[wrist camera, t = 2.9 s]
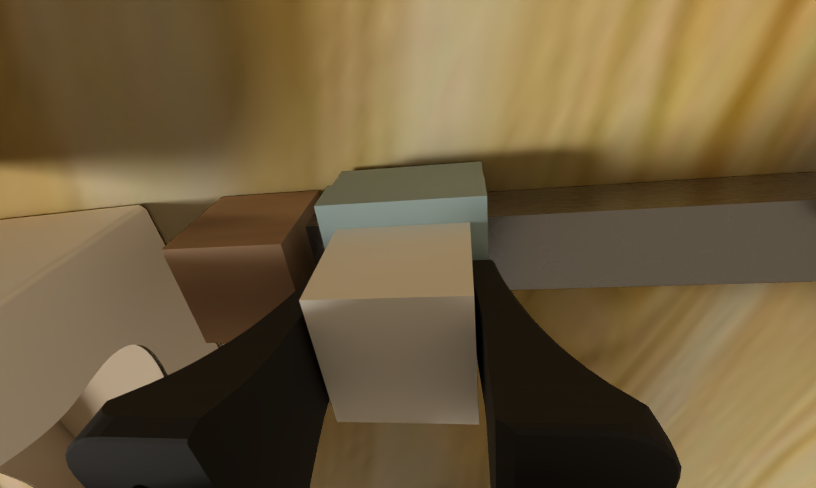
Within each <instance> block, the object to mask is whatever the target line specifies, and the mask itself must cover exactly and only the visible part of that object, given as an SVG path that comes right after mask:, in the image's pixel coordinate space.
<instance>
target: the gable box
mask: <svg viewBox="0 0 816 488" xmlns="http://www.w3.org/2000/svg"><path fill="white" fill-rule="evenodd" d="M163 247H165V244H164V242H163V240H162V238H161V237H160V235H159V233H158V231H157V229H156V227H155V225H154V223H153V221H152V219H151V217H150V216H149V214H148V212H147V210H146V208H144V207H142V206H140V205H133V206H124V207H114V208H105V209H96V210H87V211H77V212H68V213H59V214H50V215H40V216H31V217H22V218H13V219H3V220H0V473H1V474H4V475H7V476H9V477H12V478H15V479H17V480H20V481H22V482H24V483H26V484H28V485H30V486H32V487H33V488H85V487H84V486H83V485H82V484H81V483H80V482H79V480H78V479H77V478H76V477H75V476H74V475H73V473H72V472H71V470H70V469H69V468H68V464H67V461H66V456H65V454H66V450H67V447H68V446H69V445H70V444H71V442H72V441H73V440H74V439H75V438H76V437H77V435H78V434H79V433H80V432H81V431H82V429H83V428H84V427H85V426H86V425H87V424H88V422H89V421H90V420H91V419H92V418H93V417H94V415H95V414H96V413H97V412H98V411H99V410H100V408H101V407H102V406H103V405H104V404H105V402H106V401H107V400H110V399H113V398H115V397H118V396H120V395H123V394H125V393H128V392H130V391H133V390H135V389H138V388H140V387H142V386H145V385H147V384H150V383H152V382H154V381H156V380H159V379H161V378H163V377H165V376H167V375H169V374H171V373H174V372H176V371H178V370H180V369H182V368H184V367H186V366H188V365H190V364H192V363H193V362H195V361H197V360H199V359H201V358H202V357H204V356H206V355H208V354H209V353H211V352H213V351H214V350H216V349H218V346H217V344H216V343H206V341H205V339H204V337H203V335H202V333H201V331H200V329H199V327H198V325H197V323H196V321H195V319H194V317H193V315H192V313H191V311H190V309H189V307H188V304H187V302H186V300H185V298H184V296H183V294H182V292H181V290H180V288H179V286H178V284H177V282H176V280H175V278H174V276H173V274H172V272H171V270H170V268H169V266H168V263H167V261H166V259H165V257H164V255H163V253H162V251H161V249H162V248H163Z"/></svg>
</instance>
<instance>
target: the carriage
mask: <svg viewBox="0 0 816 488" xmlns="http://www.w3.org/2000/svg"><path fill="white" fill-rule="evenodd" d="M314 209H315V213H316V217H317V220H318V224H319V228H320V232H321V236H322V240H323V244H324V248H325V251H324V253H323V255H322V257H321V259H320V261H319V263H318V265H317V267H316V269H315V270H314V272H313V274H312V276H311V278H310V280H309V282H308V284H307V286H306V288H305V290H304V292H303V294H302V296H301V298H300V300H299V302H300V305H301V308H302V311H303V315H304V318H305V321H306V324H307V327H308V331H309V334H310V337H311V340H312V343H313V347H314V350H315V353H316V356H317V360H318V363H319V366H320V369H321V372H322V376H323V379H324V382H325V385H326V388H327V392H328V395H329V398H330V401H331V405H332V408H333V411H334V414H335V417H336V421H337V422H368V423H424V424H479V406H478V380H477V355H476V329H475V303H474V284H473V267H472V260H488V216H487V191H486V185H485V178H484V175H483V170H482V163H481V161H480V162H466V163H452V164H439V165H425V166H411V167H397V168H383V169H369V170H356V171H342V172H341V174H340V175H339V177H338V178H337V180H336V181H335V183H334V184H333V186H327V187H326V189H325V190H324V192H323V193H322V195H321V196H320V198H319V199H318V201H317V202H316V204H315V205H314Z"/></svg>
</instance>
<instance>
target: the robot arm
mask: <svg viewBox="0 0 816 488" xmlns="http://www.w3.org/2000/svg"><path fill="white" fill-rule="evenodd" d="M472 267H473V284H474V303H475V329H476V354H477V360H478V367H479V373H480V379H481V385H482V392H483V398H484V404H485V412H486V422H487V437H488V453H489V469H490V485H491V488H676V487H677V484H678V482H679V479H680V473H681V465H680V462H679V460H678V457H677V455H676V452H675V450H674V448H673V446H672V444H671V442H670V440H669V438H668V437H667V435H666V433H665V432H664V430H663V429H662V427H661V425H660V424H659V422H658V421H657V419H656V418H655V416H654V415H653V413H652V412H651V410H650V409H649V407H648V406H647V405H645V404H643V403H642V402H640V401H638V400H636V399H635V398H633V397H631V396H630V395H628V394H626V393H625V392H623V391H621V390H619V389H618V388H616V387H614V386H613V385H611V384H609V383H608V382H606V381H605V380H603V379H602V378H600V377H599V376H597V375H596V374H595V373H593V372H592V371H590V370H589V369H587V368H586V367H585V366H584V365H582V364H581V363H580V362H578V361H577V360H576V359H575V358H573V357H572V356H571V355H570V354H568V353H567V352H566V351H565V350H564V349H562V348H561V347H560V346H559V345H558V344H557V343H556V342H555V341H554V340H553V339H552V338H551V337H550V336H548V335H547V334H546V333H545V332H544V331H543V330H542V328H541V327H540V326H539V325H538V324H537V323H536V322H535V321H534V320H533V319H532V317H531V316H530V315H529V314H528V313H527V312H526V310H525V309H524V308H523V307H522V305H521V304H520V303H519V301H518V300H517V299H516V297H515V296H514V295H513V293H512V292H511V290H510V289H509V287H508V286H507V284H506V283H505V281H504V280H503V278H502V276H501V274H500V273H499V271H498V269H497V267H496V264H495V262H493V261H492V260H472ZM310 278H311V277H310ZM310 278H309V279H308V280H307V281H306V282H305V283H304V284H303V285H302V286H300V287H299V288H298V289H297V290H296V291H295V292H294V293H293V294H291V295H290V296H289V297H288V298H287V299H286V300H285V301H283V302H282V303H281V304H280V305H279V306H277V307H276V308H275V309H274V310H272V311H271V312H270V313H269V314H267V315H266V316H265V317H264V318H262V319H261V320H260V321H259V322H257V323H256V324H254V325H253V326H252V327H250V328H249V329H248V330H246V331H245V332H243V333H242V334H240V335H239V336H237V337H236V338H234V339H233V340H231V341H230V342H228V343H226V344H225V345H223V346H221V347H220V348H218V349H216V350H214V351H213V352H211V353H209V354H208V355H206V356H204V357H202V358H201V359H199V360H197V361H195V362H193V363H192V364H190V365H188V366H186V367H184V368H182V369H180V370H178V371H176V372H174V373H171V374H169V375H167V376H165V377H163V378H161V379H159V380H156V381H154V382H152V383H150V384H147V385H145V386H142V387H140V388H138V389H135V390H133V391H130V392H128V393H125V394H123V395H120V396H118V397H115V398H113V399H110V400H107V401H106V402H105V404H104V405H103V406H102V407H101V408H100V410H99V411H98V412H97V413H96V414H95V415H94V417H93V418H92V419H91V420H90V421H89V422H88V424H87V425H86V426H85V427H84V428H83V429H82V431H81V432H80V433H79V434H78V435H77V437H76V438H75V439H74V440H73V441H72V442H71V444H70V445H69V446H68V447H67V450H66V454H65V456H66V461H67V464H68V468H69V469H70V470H71V472H72V473H73V475H74V476H75V477H76V478H77V479H78V480H79V482H80V483H81V484H82V485H83V486H84V487H85V488H310V482H311V477H312V472H313V467H314V462H315V457H316V452H317V447H318V443H319V438H320V434H321V429H322V425H323V420H324V416H325V413H326V409H327V406H328V403H329V400H330V398H329V395H328V392H327V388H326V385H325V382H324V379H323V376H322V372H321V369H320V366H319V363H318V360H317V356H316V353H315V350H314V347H313V343H312V340H311V337H310V334H309V331H308V327H307V324H306V321H305V318H304V315H303V311H302V308H301V305H300V302H299V300H300V298H301V296H302V294H303V292H304V290H305V288H306V286H307V284H308V282H309V280H310Z"/></svg>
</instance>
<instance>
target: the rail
mask: <svg viewBox="0 0 816 488" xmlns="http://www.w3.org/2000/svg"><path fill="white" fill-rule="evenodd" d="M487 216H488V260H492V261H493V262H495V264H496V267H497V269H498V271H499V273H500V274H501V276H502V278H503V280H504V281H505V283H506V284H507V286H508V287H509V289H510V290H526V289H561V288H597V287H633V286H669V285H704V284H740V283H776V282H812V281H816V173H815V172H804V173H788V174H772V175H756V176H739V177H723V178H707V179H691V180H674V181H658V182H642V183H626V184H610V185H593V186H577V187H561V188H545V189H528V190H512V191H496V192H487ZM306 231H307V235H308V238H309V242H310V246H311V250H312V253H313V257H314V261H315V264H316V267H317V265H318V263H319V261H320V259H321V257H322V255H323V253H324V251H325V248H324V244H323V240H322V236H321V232H320V228H319V224H318V220H317V217H316V213H314V214H313V216H312V217H311V219H310V220H309V222H308V224H307V225H306Z"/></svg>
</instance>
